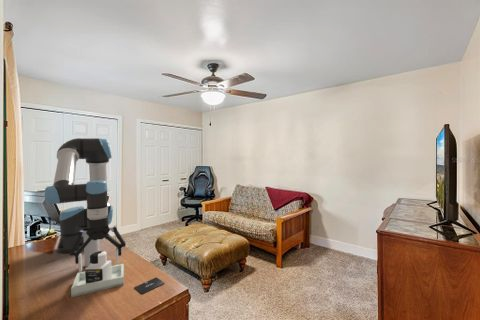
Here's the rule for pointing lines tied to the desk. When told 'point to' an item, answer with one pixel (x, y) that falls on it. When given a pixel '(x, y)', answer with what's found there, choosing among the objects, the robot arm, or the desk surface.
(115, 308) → the desk surface
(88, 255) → the travel mug
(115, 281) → the tray
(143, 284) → the solid state drive
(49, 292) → the desk surface
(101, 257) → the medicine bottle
